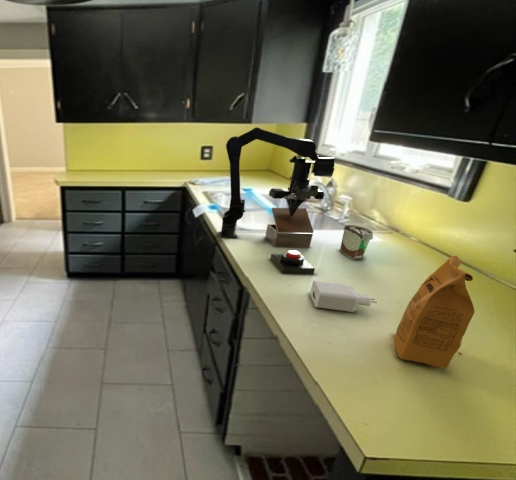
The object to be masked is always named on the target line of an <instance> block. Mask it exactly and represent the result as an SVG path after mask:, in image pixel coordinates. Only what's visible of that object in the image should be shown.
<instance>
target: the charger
mask: <svg viewBox="0 0 516 480" xmlns="http://www.w3.org/2000/svg"><path fill="white" fill-rule="evenodd" d="M309 293H310V297H311V300H312V302H313V305H314V307H315V308H319V309H325V310H326V309H327V310H334V311H342V312H348V313H349V312H350V313H353V312H355V311H356V310H357V309H358V306H366V307H371V303H372V304H377V303H378V301H376V299H375V298H372V297H369V296H368V295H367V294H364V293H357V291H355V288H354V287H353V286H351V285H350V284H346V283H336V282H330V281H321V280H313V281H312V284H311V288H310V292H309Z"/></svg>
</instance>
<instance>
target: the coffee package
mask: <svg viewBox="0 0 516 480" xmlns="http://www.w3.org/2000/svg"><path fill="white" fill-rule="evenodd" d="M461 264H462V260H461V259H460V258H459V257H458V256H457V255H451V256H450V257H449V258H448V259H447V260H446V261H445V262H443V264H441V265H440V266H439V267H438V268H437V269H436V270H435V271H433V273H431V274H430V275H429V276H428V277H427V278H426V279H425V280H424V282H422V283H421V285H420V286H419V288H418V289H417V291H416V292H415V294H414V295H413V296H412V298H411V299H410V301H409V302H408V304H407V305H406V308H405V310H404V313H403V314H402V317H401V319H400V322H399V323H398V326H397V328H396V332H395V334H394V336H393V346H394V350H395V351H396V353H397V356H398V357H399V358H400V359H402V360H404V361H409V362H414V363H415V362H416V363H423V364H426V365H428V366H432V367H435V368H443V369H447V368H448V367H449V365H450V362H451V361H452V359H453V358H454V356H455V355H456V353H457V352H459V349H460V348H461V346H462V343H463V337H464V336H465V334H466V332H467V329H468V327H469V325H470V323H471V320H472V319H473V317H474V315H475V306H474V303H473V301H472V299H471V296H470V293H469V291H468V288H467V285H466V281H467V282H472V281H473V280H474V276H473V275H472V274H470V273H469V272H467V271H466V270H463V269H461V268H459V267H460V266H461Z"/></svg>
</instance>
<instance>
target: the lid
mask: <svg viewBox="0 0 516 480" xmlns="http://www.w3.org/2000/svg"><path fill="white" fill-rule="evenodd" d="M271 213H272V217H273V221H274V224H275V225H276V229H277V232H280V233H313V234H314V228H313V226H312V223H311V220H310V217H309V213H308V211H307V207H298V209H297V210H296V212H295V214H294V215H293V216H290V213H289V208H288V207H271Z"/></svg>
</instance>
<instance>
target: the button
mask: <svg viewBox="0 0 516 480" xmlns="http://www.w3.org/2000/svg"><path fill="white" fill-rule="evenodd" d="M286 252H287V257H289V258H294V259H298V258H300V254H301V252H300V251H299V250H295V249H290V250H287V251H286ZM301 255H302V254H301Z"/></svg>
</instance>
